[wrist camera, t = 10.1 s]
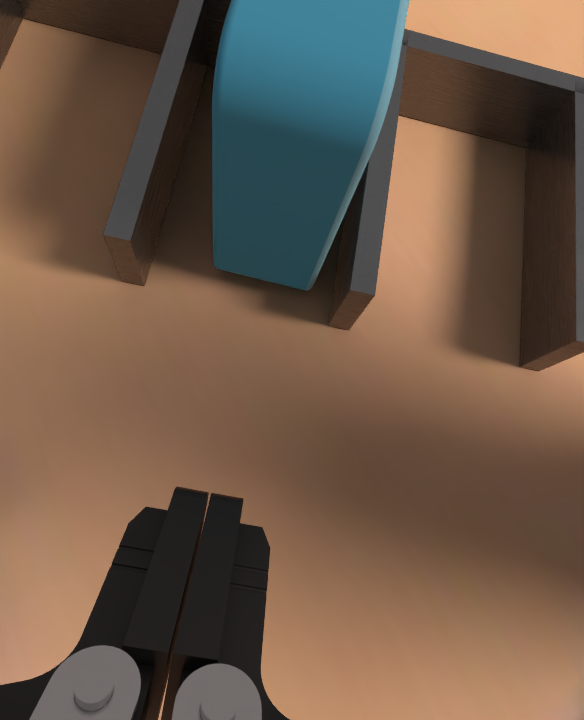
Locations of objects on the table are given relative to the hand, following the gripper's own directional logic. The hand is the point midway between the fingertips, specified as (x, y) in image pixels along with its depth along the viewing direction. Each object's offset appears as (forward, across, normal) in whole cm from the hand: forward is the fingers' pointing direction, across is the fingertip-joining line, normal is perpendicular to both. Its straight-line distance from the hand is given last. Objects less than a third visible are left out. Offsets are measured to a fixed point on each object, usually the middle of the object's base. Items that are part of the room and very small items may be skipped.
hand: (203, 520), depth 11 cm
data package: (+18, 0, -4) cm, 19 cm away
